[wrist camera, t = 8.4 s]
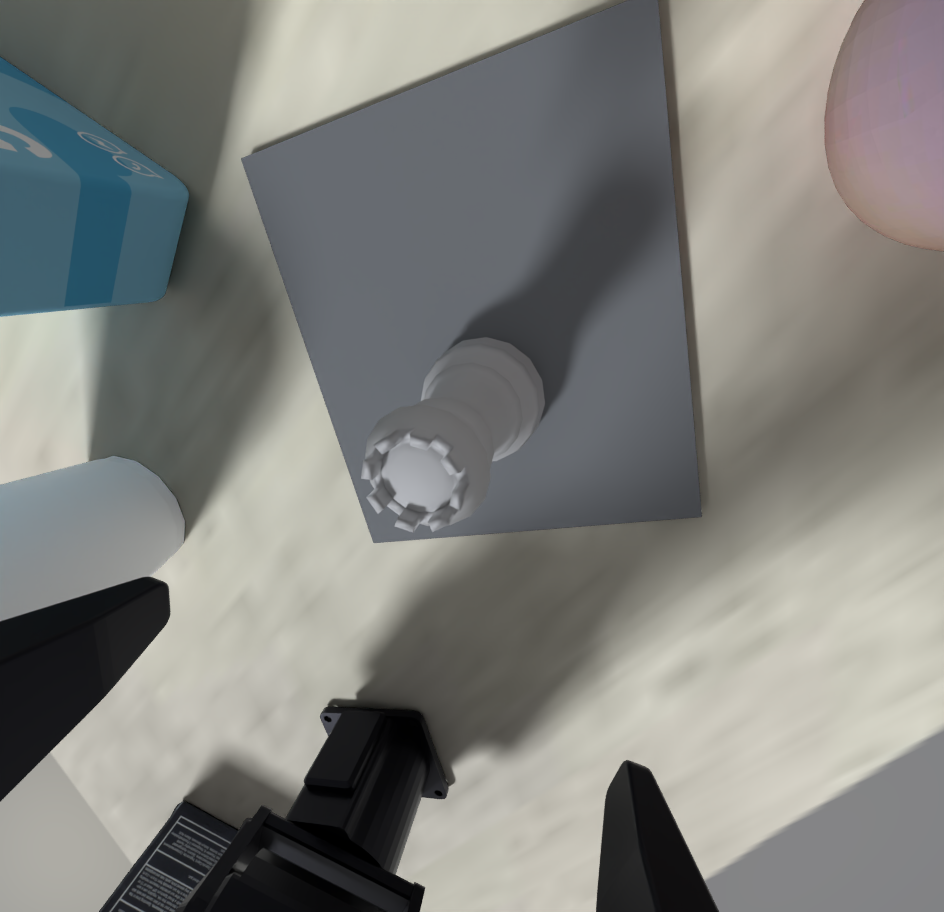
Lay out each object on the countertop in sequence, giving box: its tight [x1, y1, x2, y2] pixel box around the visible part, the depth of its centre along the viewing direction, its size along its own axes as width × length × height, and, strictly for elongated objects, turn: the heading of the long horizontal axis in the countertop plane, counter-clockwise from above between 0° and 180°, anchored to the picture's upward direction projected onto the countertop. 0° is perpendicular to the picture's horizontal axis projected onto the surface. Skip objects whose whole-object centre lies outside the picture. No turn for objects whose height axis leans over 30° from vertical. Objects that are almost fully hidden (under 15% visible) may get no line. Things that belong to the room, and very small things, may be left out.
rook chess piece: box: [361, 337, 545, 532], centre depth 14 cm, size 4×4×8 cm
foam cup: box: [0, 456, 185, 621], centre depth 20 cm, size 10×9×13 cm
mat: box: [241, 0, 702, 543], centre depth 18 cm, size 16×14×1 cm
